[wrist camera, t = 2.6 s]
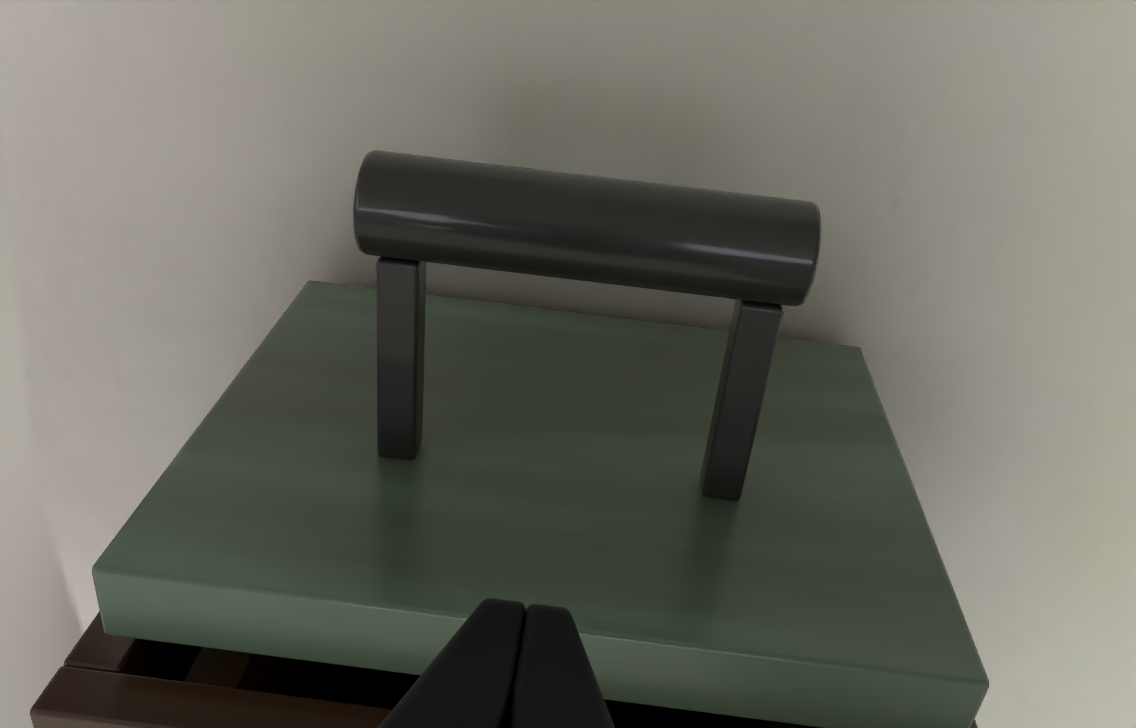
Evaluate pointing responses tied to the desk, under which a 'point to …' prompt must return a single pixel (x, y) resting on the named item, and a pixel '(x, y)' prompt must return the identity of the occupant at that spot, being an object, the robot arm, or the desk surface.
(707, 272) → the drawer
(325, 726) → the cabinet
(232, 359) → the desk surface
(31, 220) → the desk surface
